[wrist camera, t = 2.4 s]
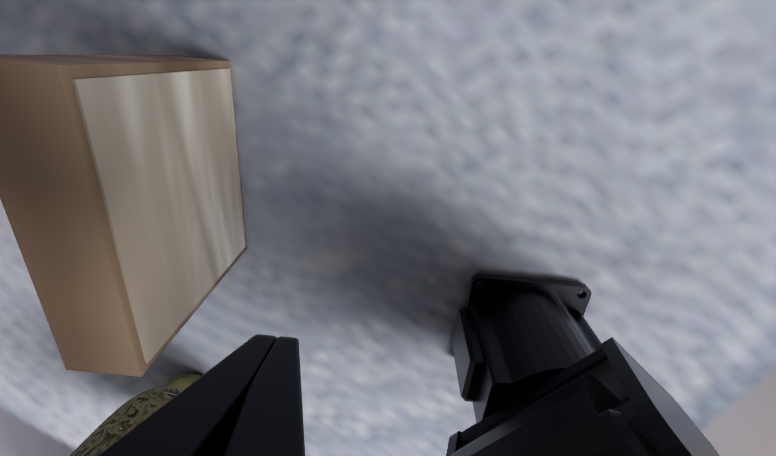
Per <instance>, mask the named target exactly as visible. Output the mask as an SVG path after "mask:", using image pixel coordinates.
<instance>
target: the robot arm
mask: <svg viewBox="0 0 776 456" xmlns="http://www.w3.org/2000/svg"><path fill="white" fill-rule="evenodd" d="M478 282H484V283H483V284H482V285H477V283H478ZM581 291H583V292H582V293H581V294H579V295H577V294H578V293H579V292H581ZM590 297H591V291H590V289H589V288H588V287H587V286H586V285H585V284H582V283H573V282H562V281H552V280H542V279H531V278H521V277H510V276H500V275H490V274H477V275H474V276H473V277H472V279H471V281H470V286H469V290H468V295H467V300H466V304H465V307H462V308H460V309H459V311H458V316H457V320H456V325H455V330H454V335H453V340H452V346H453V352H454V358H455V364H456V370H457V376H458V382H459V388H460V394H461V397H462V398H463V399H464V400H465V401H471V402H473V407H474V412H475V417H476V422H477V423H476V424H474V425H473V426H471V427H470V428H468V429H466V430H465V431H463V432H460V431H458V432H457V433H455V434H454V435H452V436H450V438H449V444H448V449H447V454H446V456H719V454H718V453H717V451H716V450H715V449H714V447H713V446H712V444H711V443H710V442H709V441H708V440H707V438H706V437H705V436H704V435H703V434H702V432H701V431H700V430H699V429H698V427H697V426H696V425H695V424H694V423H693V421H692V420H691V419H690V418H689V417H688V415H687V414H686V413H685V412H684V411H683V409H682V408H681V407H680V406H679V404H678V403H677V402H676V401H675V400H674V399H673V397H672V396H671V395H670V394H669V393H668V392H667V391H666V390H665V389H664V388H663V387H662V386H661V385H660V384H659V383H658V382H657V381H656V380H655V379H654V378H653V377H652V376H651V375H650V374H649V373H648V372H647V371H646V370H645V369H644V368H643V367H642V366H641V365H640V364H639V363H638V362H637V361H636V360H635V359H634V358H633V357H632V356H631V355H630V354H629V353H628V352H627V351H626V350H625V349H624V348H623V347H622V346H621V345H620V344H619V343H618V342H617V341H616V340H615V339H614V338H610V339H608V340H607V341H605V342H604V343H601V342H600V340H599V339H598V337H597V336H596V335H595V333H594V332H593V330H592V329H591V327H590V326H589V324H588V323H587V321H586V320H585V319H584V317H583V315H584V312H585V310H586V307H587V305H588V302H589V300H590ZM98 456H305V445H304V427H303V410H302V392H301V375H300V357H299V341H298V339H297V338H292V337H278V338H277V337H275V336H271V335H260V334H259V335H255V336H253V337H252V338H251V339H249V340H248V341H247V342H246V343H244V344H243V345H242V346H240V347H239V348H238V349H236V350H235V351H234V352H232V353H231V354H230V355H229V356H227V357H226V358H225V359H223V360H222V361H221V362H219V363H218V364H217V365H215V366H214V367H213V368H211V369H210V370H209V371H208V372H206V373H205V374H204V375H202V376H201V377H200V378H198V379H197V380H196V381H194V382H193V383H192V384H191V385H189V386H188V387H187V388H185V389H184V390H183V391H181V392H180V393H179V394H177V395H176V396H175V397H174V398H172V399H171V400H170V401H168V402H167V403H166V404H164V405H163V406H162V407H160V408H159V409H158V410H157V411H155V412H154V413H153V414H151V415H150V416H149V417H147V418H146V419H145V420H143V421H142V422H141V423H140V424H138V425H137V426H136V427H134V428H133V429H132V430H130V431H129V432H128V433H126V434H125V435H124V436H123V437H121V438H120V439H119V440H117V441H116V442H115V443H113V444H112V445H111V446H109V447H108V448H107V449H106V450H104V451H103V452H102V453H100V454H99V455H98Z"/></svg>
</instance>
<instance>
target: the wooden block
mask: <svg viewBox="0 0 776 456" xmlns="http://www.w3.org/2000/svg"><path fill="white" fill-rule="evenodd" d="M0 198H1V201H2V204H3V206H4V209H5V211H6V214H7V217H8V219H9V222H10V224H11V227H12V230H13V232H14V235H15V237H16V240H17V243H18V245H19V248H20V250H21V253H22V256H23V258H24V261H25V263H26V266H27V269H28V271H29V274H30V276H31V279H32V282H33V284H34V287H35V289H36V292H37V295H38V297H39V300H40V302H41V305H42V308H43V310H44V313H45V315H46V318H47V321H48V323H49V326H50V328H51V331H52V333H53V336H54V339H55V341H56V344H57V346H58V349H59V352H60V354H61V357H62V359H63V362H64V365H65V367H66V370H75V371H85V372H96V373H106V374H116V375H127V376H137V377H142V376H143V374H144V373H145V372H146V371H147V369H148V368H149V367H150V366H151V365H152V363H153V362H154V361H155V360H156V358H157V357H158V356H159V355H160V354H161V352H162V351H163V350H164V349H165V348H166V346H167V345H168V344H169V343H170V341H171V340H172V339H173V338H174V337H175V335H176V334H177V333H178V332H179V330H180V329H181V328H182V327H183V326H184V324H185V323H186V322H187V321H188V319H189V318H190V317H191V316H192V315H193V313H194V312H195V311H196V310H197V309H198V307H199V306H200V305H201V304H202V302H203V301H204V300H205V299H206V298H207V296H208V295H209V294H210V293H211V291H212V290H213V289H214V288H215V287H216V285H217V284H218V283H219V282H220V280H221V279H222V278H223V277H224V276H225V274H226V273H227V272H228V271H229V270H230V268H231V267H232V266H233V265H234V263H235V262H236V261H237V260H238V259H239V257H240V256H241V255H242V254H243V252H244V251H245V250H246V237H245V226H244V214H243V203H242V191H241V180H240V168H239V157H238V145H237V133H236V122H235V110H234V99H233V87H232V76H231V64H230V61H227V60H217V59H207V58H196V57H186V56H176V55H0Z"/></svg>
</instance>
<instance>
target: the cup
mask: <svg viewBox="0 0 776 456" xmlns="http://www.w3.org/2000/svg"><path fill="white" fill-rule="evenodd" d="M201 376H202V375H199V374H194V373H184V374H180V375H178V376H176V377H174V378H172V379H171V380H169V381H168V382H167V383H166V384H165V385H164V387H162V388H156V389H152V390H148V391H146V392H143V393H141V394H139V395H137V396H135V397H134V398H132V399H130V400H129V401H127V402H126V403H125V404H123V405H122V406H121V407H120V408H118V409H117V410H116V411H115V412H114V413H113V414H112V415H110V416H109V417H108V418H107V419H106V420H105V421H104V422H103V423H102V424H101V425H100V426H99V427H98V428H97V429H96V430H95V431H94V432H93V433H92V434H91V435H90V436H89V437H88V438H87V439H86V440H85V441H84V442H83V443H82V444H81V445H80V446H79V447H78V448H77V449H76V450H75V451H74V452H73V453H72V454H71V455H70V456H98V455H99V454H100V453H102V452H103V451H104V450H106V449H107V448H108V447H109V446H111V445H112V444H113V443H115V442H116V441H117V440H119V439H120V438H121V437H123V436H124V435H125V434H126V433H128V432H129V431H130V430H132V429H133V428H134V427H136V426H137V425H138V424H140V423H141V422H142V421H143V420H145V419H146V418H147V417H149V416H150V415H151V414H153V413H154V412H155V411H157V410H158V409H159V408H160V407H162V406H163V405H164V404H166V403H167V402H168V401H170V400H171V399H172V398H174V397H175V396H176V395H177V394H179V393H180V392H181V391H183V390H184V389H185V388H187V387H188V386H189V385H191V384H192V383H193V382H194V381H196V380H197V379H198V378H200V377H201Z"/></svg>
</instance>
